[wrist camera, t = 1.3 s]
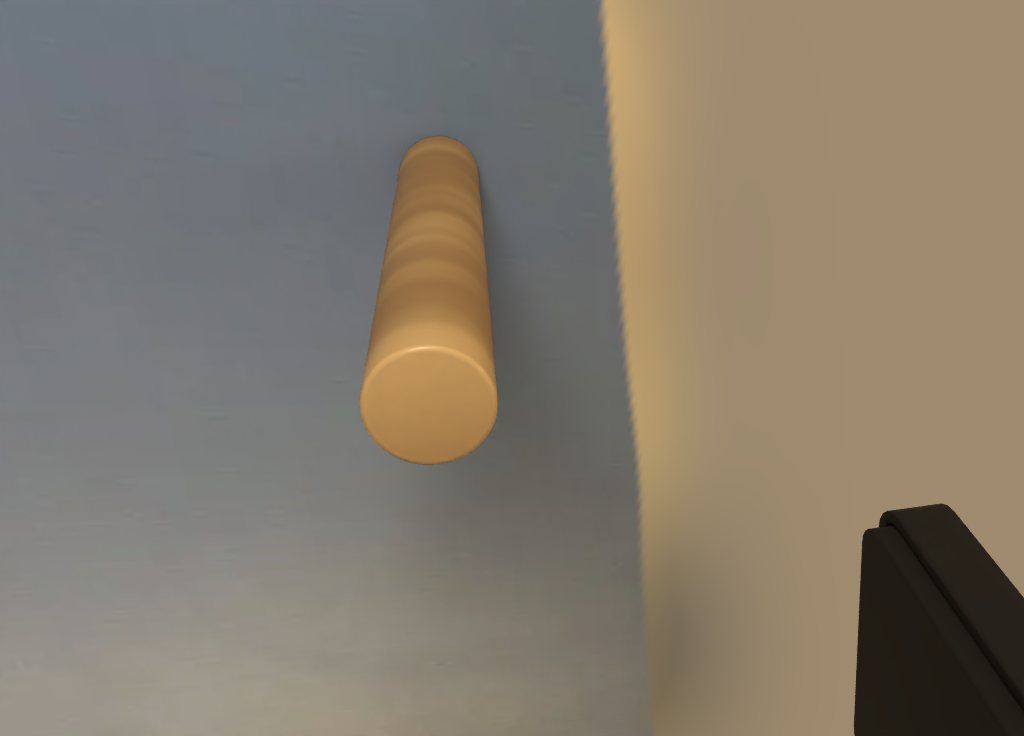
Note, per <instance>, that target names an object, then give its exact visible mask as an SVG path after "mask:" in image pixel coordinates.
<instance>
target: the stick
mask: <svg viewBox="0 0 1024 736" xmlns="http://www.w3.org/2000/svg"><path fill="white" fill-rule="evenodd" d="M497 409H498V400H497V388H496V376H495V364H494V352H493V340H492V329H491V317H490V305H489V293H488V281H487V270H486V258H485V246H484V234H483V222H482V211H481V199H480V187H479V175H478V168H477V164H476V161H475V159H474V157H473V155H472V154H471V152H470V151H469V150H468V149H467V148H466V147H465V146H464V145H463V144H461V143H459V142H458V141H456V140H454V139H451V138H447V137H440V136H436V137H429V138H425V139H422V140H420V141H418V142H417V143H415V144H414V145H413V146H412V147H410V148H409V150H408V151H407V152H406V153H405V155H404V157H403V159H402V161H401V164H400V169H399V174H398V180H397V186H396V192H395V197H394V203H393V209H392V215H391V220H390V226H389V232H388V238H387V243H386V249H385V255H384V261H383V266H382V272H381V278H380V283H379V289H378V295H377V301H376V306H375V312H374V318H373V324H372V329H371V335H370V341H369V347H368V352H367V358H366V364H365V370H364V375H363V381H362V387H361V393H360V414H361V418H362V421H363V424H364V426H365V428H366V430H367V431H368V433H369V434H370V436H371V437H372V438H373V440H374V441H375V442H376V443H377V444H378V445H379V446H380V447H381V448H382V449H383V450H385V451H386V452H388V453H389V454H391V455H393V456H395V457H397V458H399V459H401V460H404V461H407V462H411V463H415V464H422V465H434V464H443V463H448V462H451V461H454V460H457V459H459V458H461V457H464V456H465V455H467V454H469V453H470V452H472V451H473V450H474V449H475V448H477V447H478V446H479V445H480V444H481V443H482V442H483V441H484V440H485V438H486V437H487V436H488V434H489V433H490V431H491V429H492V427H493V425H494V422H495V420H496V415H497Z"/></svg>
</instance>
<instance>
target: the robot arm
mask: <svg viewBox="0 0 1024 736" xmlns="http://www.w3.org/2000/svg"><path fill="white" fill-rule="evenodd" d="M861 561H862V562H861V581H860V583H861V584H860V604H859V626H858V648H857V670H856V692H855V694H856V695H855V715H854V734H855V736H1024V598H1023V596H1022V595H1021V594H1020V593H1019V591H1018V590H1017V589H1016V588H1015V586H1014V585H1013V584H1012V583H1011V582H1010V580H1009V579H1008V578H1007V576H1006V575H1005V574H1004V573H1003V571H1002V570H1001V569H1000V568H999V566H998V565H997V564H996V563H995V561H994V560H993V559H992V558H991V557H990V555H989V554H988V553H987V552H986V550H985V549H984V548H983V547H982V545H981V544H980V543H979V542H978V540H977V539H976V538H975V537H974V535H973V534H972V533H971V532H970V530H969V529H968V528H967V527H966V525H965V524H964V523H963V522H962V521H961V519H960V518H959V517H958V516H957V514H956V513H955V512H954V511H953V510H952V509H951V508H950V507H949V506H948V505H945V504H935V505H928V506H922V507H914V508H907V509H899V510H892V511H886V512H885V513H883V514H882V516H881V518H880V522H879V528H872V529H868V530H866V531H865V532H864V535H863V541H862V560H861Z"/></svg>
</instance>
